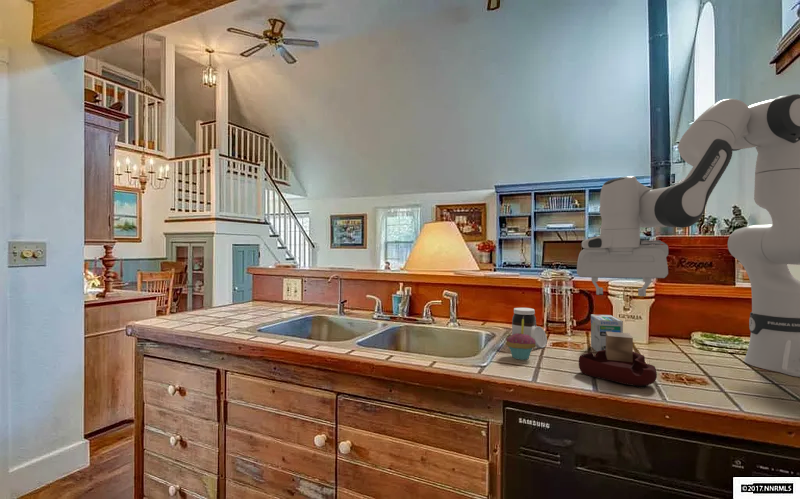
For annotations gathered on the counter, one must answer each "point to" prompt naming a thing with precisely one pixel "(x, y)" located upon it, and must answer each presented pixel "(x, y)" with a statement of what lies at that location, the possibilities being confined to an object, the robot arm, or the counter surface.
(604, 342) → the light bulb box
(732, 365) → the counter surface
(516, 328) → the spread jar
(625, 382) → the ashtray
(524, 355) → the cupcake
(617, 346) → the grey-brown cube
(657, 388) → the counter surface
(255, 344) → the counter surface
